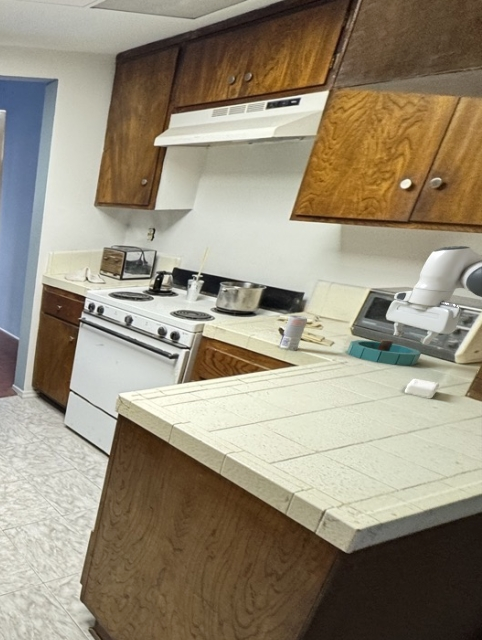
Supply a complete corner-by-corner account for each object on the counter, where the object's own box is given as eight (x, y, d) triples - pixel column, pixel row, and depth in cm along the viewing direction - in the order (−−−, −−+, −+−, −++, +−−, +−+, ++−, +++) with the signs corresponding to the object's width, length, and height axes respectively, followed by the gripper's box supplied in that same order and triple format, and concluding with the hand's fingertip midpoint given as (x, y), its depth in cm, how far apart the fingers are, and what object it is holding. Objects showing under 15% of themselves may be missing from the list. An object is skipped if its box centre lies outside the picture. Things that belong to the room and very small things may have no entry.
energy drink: (290, 346, 177) (301, 315, 173) (300, 350, 172) (311, 318, 168) (275, 346, 178) (285, 315, 173) (284, 350, 173) (295, 318, 168)
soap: (431, 399, 129) (435, 389, 128) (403, 393, 133) (407, 383, 132) (435, 392, 134) (440, 383, 133) (409, 387, 138) (413, 377, 137)
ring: (384, 351, 173) (389, 341, 172) (430, 366, 157) (435, 355, 156) (335, 349, 174) (339, 339, 173) (375, 364, 158) (380, 353, 157)
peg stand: (382, 355, 169) (389, 337, 166) (399, 361, 162) (407, 343, 160) (361, 354, 169) (368, 337, 167) (378, 360, 163) (386, 342, 160)
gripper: (474, 305, 140) (452, 349, 146) (410, 293, 159) (393, 332, 164) (451, 304, 141) (430, 348, 146) (390, 292, 160) (374, 331, 165)
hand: (410, 340), depth 155 cm, fingers open, 8 cm apart
